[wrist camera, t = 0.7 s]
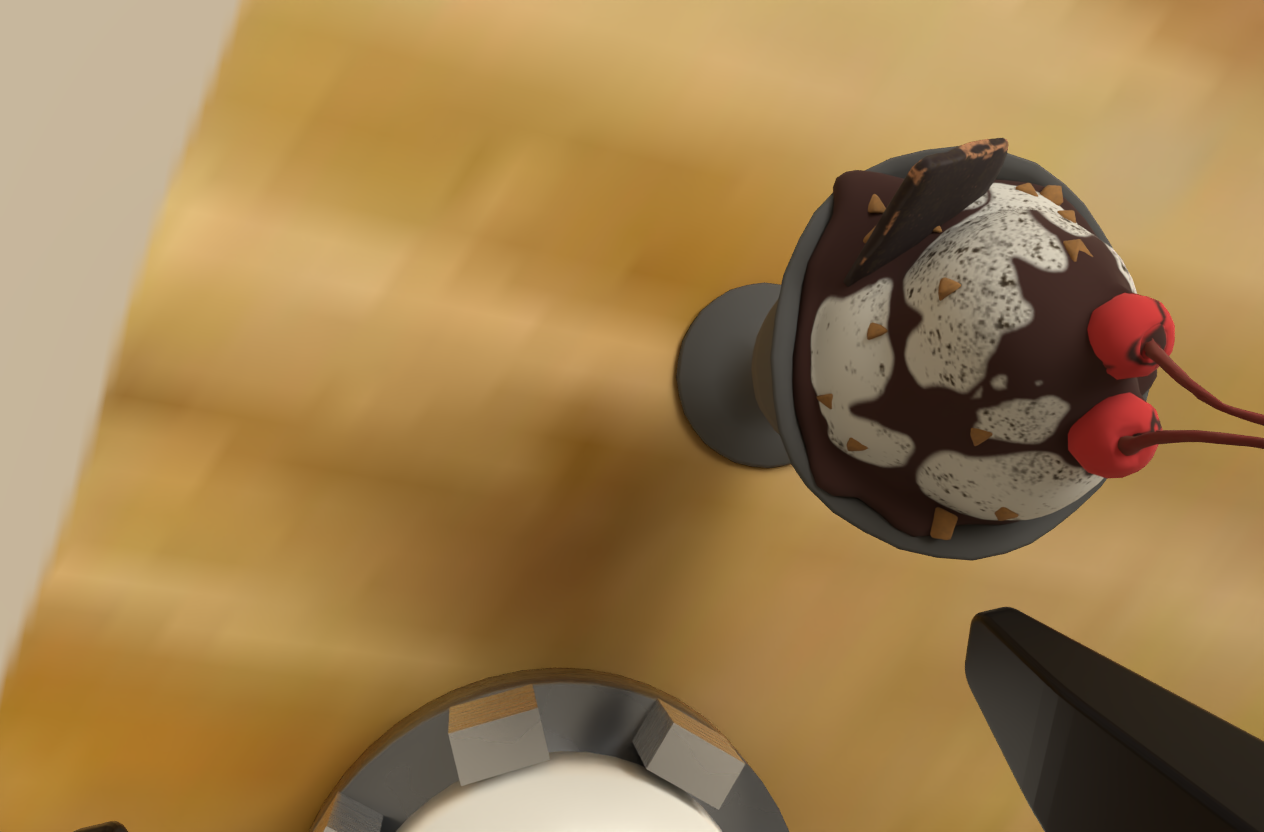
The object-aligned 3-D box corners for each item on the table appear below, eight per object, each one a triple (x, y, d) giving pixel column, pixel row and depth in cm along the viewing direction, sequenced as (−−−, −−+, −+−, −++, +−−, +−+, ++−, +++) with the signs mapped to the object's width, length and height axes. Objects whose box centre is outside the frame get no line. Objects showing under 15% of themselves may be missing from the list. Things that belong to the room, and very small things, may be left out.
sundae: (863, 515, 25) (1423, 667, 10) (625, 477, 24) (881, 588, 9) (901, 279, 25) (1508, 100, 11) (667, 230, 24) (982, -49, 9)
